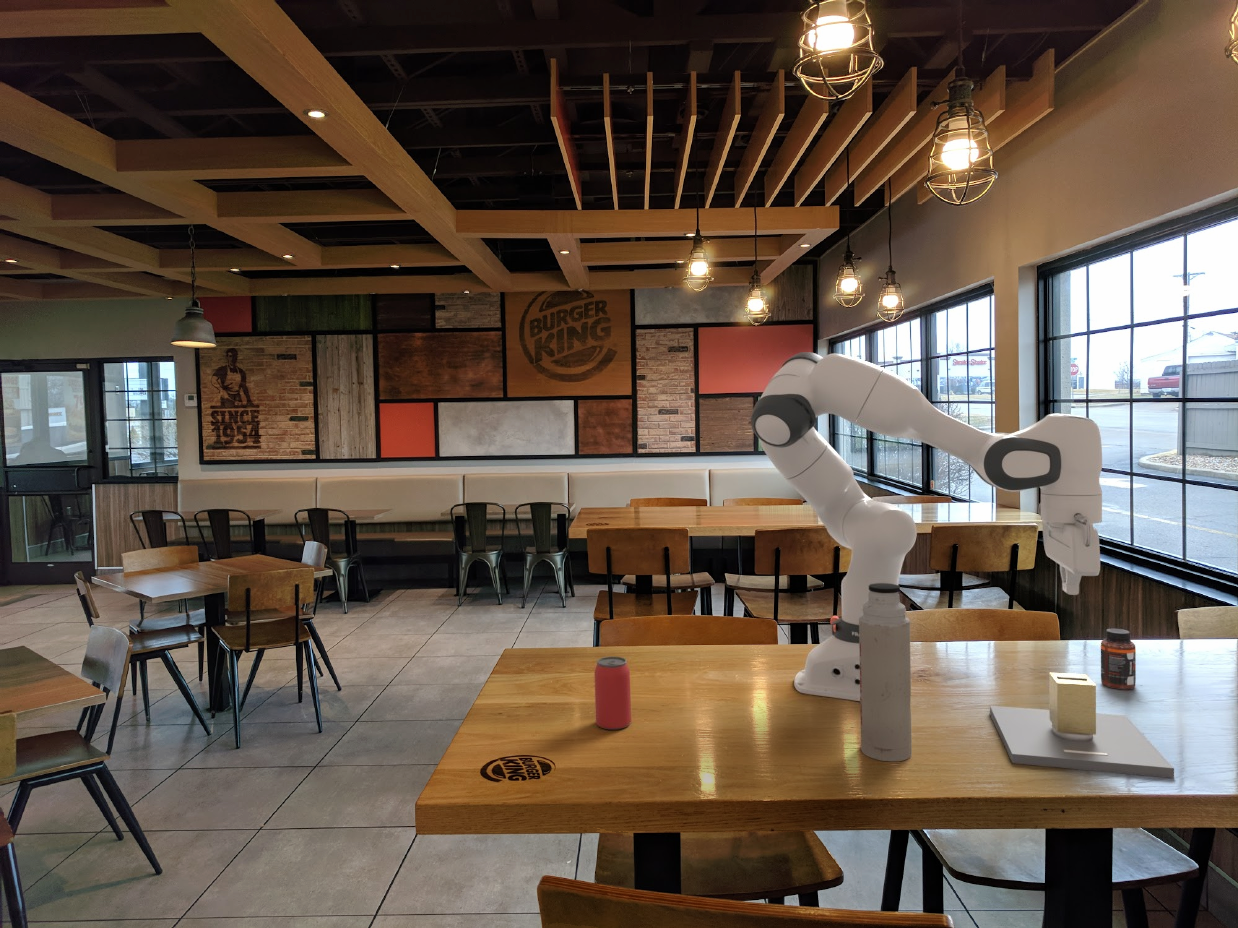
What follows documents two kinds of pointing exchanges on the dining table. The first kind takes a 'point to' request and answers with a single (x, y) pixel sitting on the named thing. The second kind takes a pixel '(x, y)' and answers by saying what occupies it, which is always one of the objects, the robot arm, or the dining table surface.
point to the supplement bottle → (1118, 660)
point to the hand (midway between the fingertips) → (1070, 593)
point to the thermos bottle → (885, 675)
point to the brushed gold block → (1072, 703)
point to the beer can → (612, 693)
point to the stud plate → (1078, 743)
